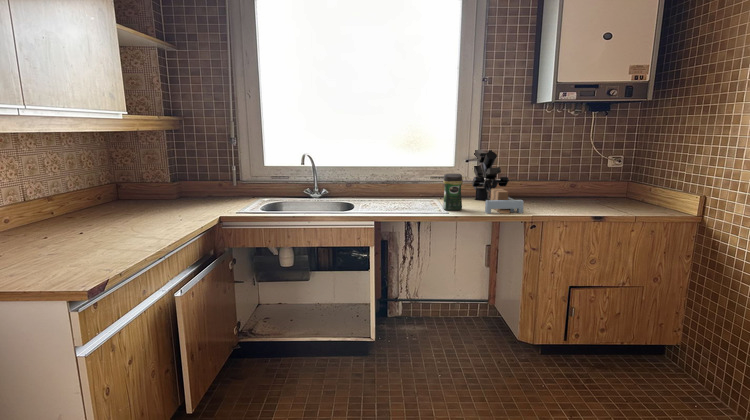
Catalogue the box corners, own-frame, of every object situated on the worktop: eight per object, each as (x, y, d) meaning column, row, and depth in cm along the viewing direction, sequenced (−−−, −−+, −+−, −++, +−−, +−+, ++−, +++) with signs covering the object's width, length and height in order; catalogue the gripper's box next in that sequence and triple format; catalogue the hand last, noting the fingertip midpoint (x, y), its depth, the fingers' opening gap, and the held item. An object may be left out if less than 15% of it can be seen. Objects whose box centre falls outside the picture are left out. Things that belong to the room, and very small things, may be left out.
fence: (479, 208, 227) (480, 197, 226) (514, 208, 228) (514, 196, 227) (486, 213, 215) (487, 201, 214) (522, 212, 216) (523, 200, 215)
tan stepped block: (490, 207, 231) (490, 188, 229) (499, 207, 231) (500, 188, 229) (500, 213, 215) (501, 193, 213) (510, 213, 216) (511, 193, 214)
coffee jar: (459, 208, 229) (461, 172, 226) (463, 211, 222) (464, 174, 218) (441, 208, 229) (442, 172, 226) (444, 211, 221) (445, 174, 218)
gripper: (474, 162, 235) (479, 185, 226) (508, 161, 236) (514, 185, 227) (470, 174, 244) (474, 197, 236) (503, 174, 245) (508, 197, 236)
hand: (493, 194), depth 233 cm, fingers closed
